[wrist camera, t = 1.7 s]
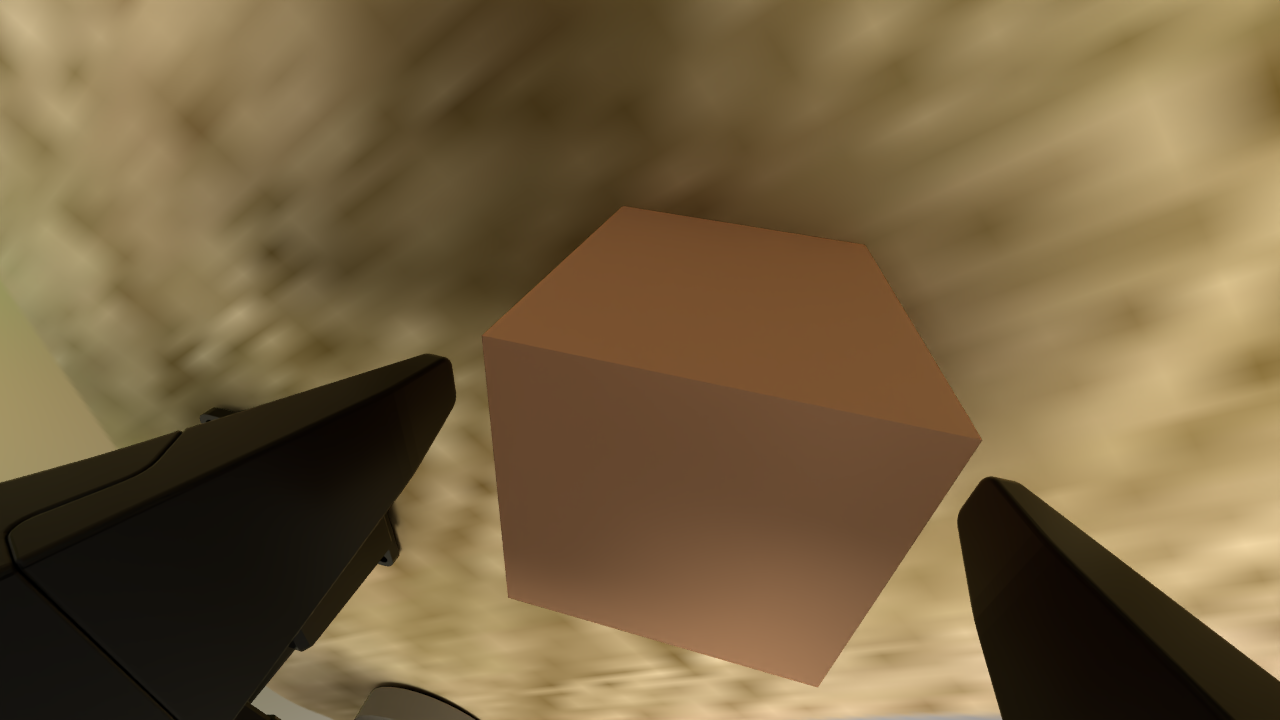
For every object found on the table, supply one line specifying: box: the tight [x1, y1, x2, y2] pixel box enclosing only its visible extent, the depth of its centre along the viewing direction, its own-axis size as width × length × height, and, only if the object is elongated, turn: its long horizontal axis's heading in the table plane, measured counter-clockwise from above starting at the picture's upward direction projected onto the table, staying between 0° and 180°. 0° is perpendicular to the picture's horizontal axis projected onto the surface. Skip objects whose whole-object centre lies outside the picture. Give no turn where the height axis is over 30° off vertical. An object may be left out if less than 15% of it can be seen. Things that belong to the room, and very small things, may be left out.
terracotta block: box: [482, 206, 982, 687], centre depth 8 cm, size 5×5×6 cm
